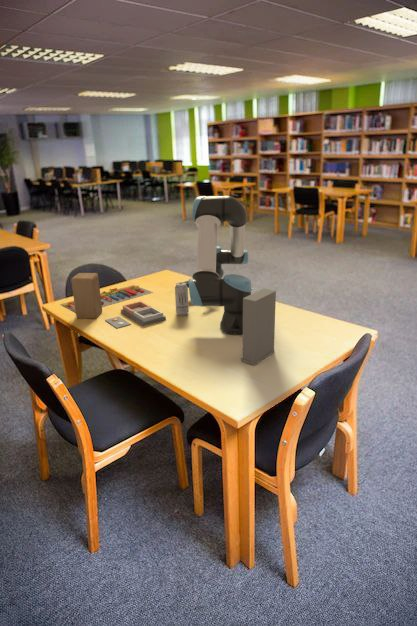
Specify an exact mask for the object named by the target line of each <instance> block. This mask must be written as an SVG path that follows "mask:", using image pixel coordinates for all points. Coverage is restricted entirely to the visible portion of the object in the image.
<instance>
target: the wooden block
mask: <svg viewBox="0 0 417 626" xmlns="http://www.w3.org/2000/svg"><path fill="white" fill-rule="evenodd" d="M70 281H71V289H72V297H73V301H74V304H75V311H76V313H75V317H76V318H77V319H88V320H89V319H94V320H95V319H97V318H98V317H99V316H100V315H101V314H102V312H103V307H102V304H101V295H100V294H101V288H100V281H99V274H98V273H97V272H78V273H77V274H76V275H74V276H73V277H71V280H70Z"/></svg>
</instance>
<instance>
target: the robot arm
mask: <svg viewBox="0 0 417 626" xmlns="http://www.w3.org/2000/svg"><path fill="white" fill-rule="evenodd" d="M191 214H192V215H191V216H192V221H193V222H194V223H195V225H196V226H197V229H198V231H197V232H198V233H197V250H196V252H197V253H196V269H195V270H196V271H195V272H193V274H192V277H191V278H189V279H188V280H185V281H183V282H184V283H186V285H187V287H188V294H189V298H190V302H191V305H193V306H194V307H223V314H222V317H221V321H220V324H219V325H220V326H219V327H220V328H219V329H220V330H221V331H222V332H223V333H226V334H228V335H234V336H235V335H238V336H239V335H243V298H245V297H247V296H249V295H251V294H252V290H253V289H252V282H251V280H250V278H248V277H247V276H244V275H240V274H234V273H232V274H231V273H230V274H225V271H224V269H223V267H222V265H247V264H248V263H249V251H248V250H247V249H245V248H246V245H245V244H246V224H247V222H248V213H247V209H246V208H245V206H244V205H243V203H242V202H241V201H240V200H239V199H238V198H236V197H235V196H231V195H207V196H206V195H202V196H197V197H195V198H194V201H193V205H192V213H191ZM221 222H222V223H223V222H227V224H228V225H229V246H230V249H225V250H224V249H222V247H221V246H218V244H217V243H218V228H219V227H220V226H221V224H222V223H221Z"/></svg>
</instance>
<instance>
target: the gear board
mask: <svg viewBox="0 0 417 626" xmlns="http://www.w3.org/2000/svg"><path fill="white" fill-rule="evenodd" d="M150 294H154V292H153V291H151V290H148V289H147V288H146V289H145V288H142V287H140V285H135V284H132V285H128V286H125V287H122V288H117V287H116V288H115V287H114V288H110V289H109V291H103V292H102V291H101V292H100V295H101V304H102V308H104V307H108V306H110V305H115V304H118V303H121V302H124V301H129V300H131V299H132V300H133V299H135V298H138V297H143V296H146V295H150ZM60 306H62V307H64V308H66V309H67V310H70V311H71V312H73V313H75V314H76V311H75V304H74V300H71V301H68V302H64V303H60Z"/></svg>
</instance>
